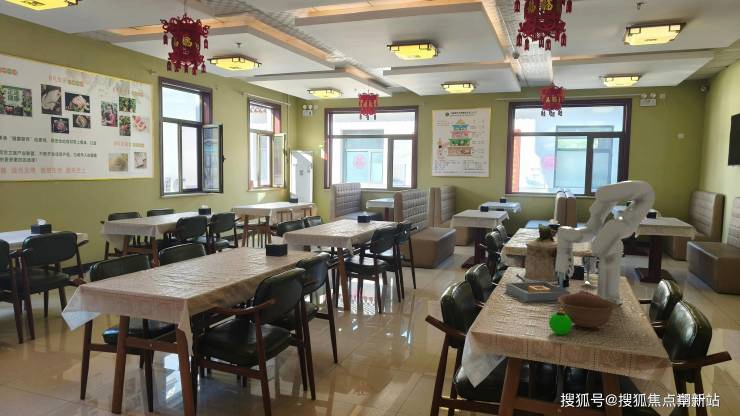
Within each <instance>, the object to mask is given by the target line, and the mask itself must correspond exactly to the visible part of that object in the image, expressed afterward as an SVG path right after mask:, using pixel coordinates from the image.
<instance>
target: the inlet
mask: <svg viewBox="0 0 740 416" xmlns="http://www.w3.org/2000/svg"><path fill="white" fill-rule="evenodd" d="M528 291H530V292H532V293H537V292H550V289H549V288H547V287H544V286H529V288H528Z"/></svg>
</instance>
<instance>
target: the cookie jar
mask: <svg viewBox="0 0 740 416" xmlns="http://www.w3.org/2000/svg"><path fill="white" fill-rule="evenodd" d="M537 228H538V233H539V237H538V238H536V239H535V240H532V241H528V242H526V243H525V246H526V248H527V249H526V254H525V259H524V271H522V270H521V271H520V270H516V271H515V273H516V275H517V276H518V277H520V278H521V279H522V280H523V281H524V282H548V283H550V284H552V285H558V277H557V272H556V270H555V269H556V268H555V265H556V256H557V242H556V241H555V239H554V237H556V235H557V230H554V229H552V228H551V227H550V226H549V225H544V224H542V223H538V226H537ZM569 284H571V281H570V280H569Z"/></svg>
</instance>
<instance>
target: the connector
mask: <svg viewBox="0 0 740 416" xmlns="http://www.w3.org/2000/svg"><path fill="white" fill-rule="evenodd" d="M566 276H567V275H566ZM563 279H564V273H561V272H560V275H559V285H558V287H559V288H562V289H564V290H567V291H568V287H563Z"/></svg>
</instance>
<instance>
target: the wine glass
mask: <svg viewBox="0 0 740 416" xmlns="http://www.w3.org/2000/svg"><path fill="white" fill-rule="evenodd" d="M597 259H598V257H597V256H595V255H594V254H581V257H580V261H581V262H580V263H581V266H582V268H583V269H584V270H585V271H586V276H587V277H586V280H581V281H580V283H581V284H587V285H593V284H592V283H594V284H595V282H594V281H591V280H589V279H590V273H591V271H592V270H593V269H594V268H595V267H596V264H597V262H598V261H597Z"/></svg>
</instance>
